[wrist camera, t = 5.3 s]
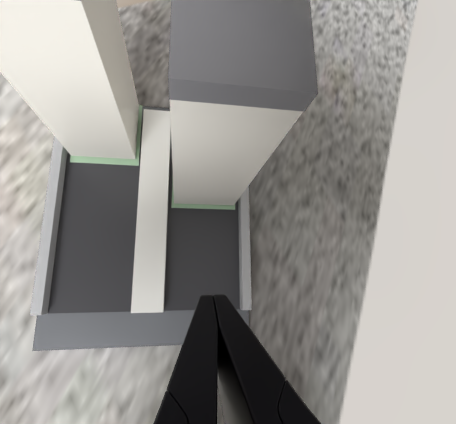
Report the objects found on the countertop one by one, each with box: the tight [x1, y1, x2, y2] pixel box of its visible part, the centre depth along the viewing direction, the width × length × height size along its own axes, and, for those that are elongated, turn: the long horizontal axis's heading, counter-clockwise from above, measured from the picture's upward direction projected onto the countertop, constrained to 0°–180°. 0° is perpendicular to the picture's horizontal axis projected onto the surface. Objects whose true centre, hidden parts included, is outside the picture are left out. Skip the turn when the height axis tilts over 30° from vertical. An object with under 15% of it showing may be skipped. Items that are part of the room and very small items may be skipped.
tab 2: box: [168, 0, 318, 205], centre depth 13 cm, size 4×4×11 cm
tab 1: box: [0, 0, 139, 159], centre depth 12 cm, size 4×4×11 cm
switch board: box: [30, 105, 252, 351], centre depth 17 cm, size 14×11×2 cm
